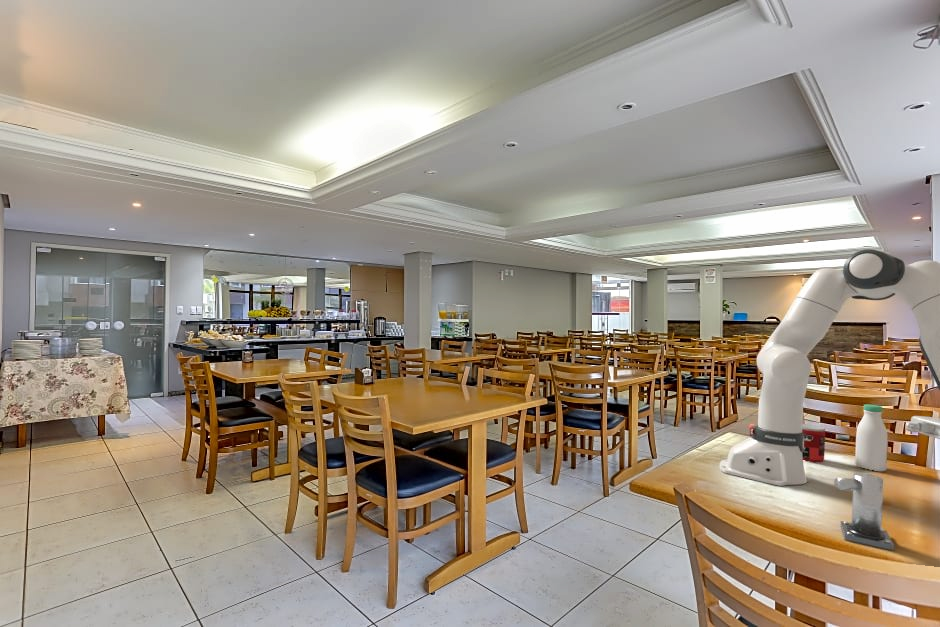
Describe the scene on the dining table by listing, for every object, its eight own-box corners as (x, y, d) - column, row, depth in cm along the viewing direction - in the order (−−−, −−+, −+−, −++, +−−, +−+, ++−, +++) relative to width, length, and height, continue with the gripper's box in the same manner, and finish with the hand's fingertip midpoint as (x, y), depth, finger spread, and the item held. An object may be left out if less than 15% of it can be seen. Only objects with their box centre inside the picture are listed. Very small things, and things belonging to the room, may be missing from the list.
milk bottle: (886, 473, 147) (888, 409, 147) (854, 467, 153) (856, 405, 152) (886, 468, 153) (889, 405, 153) (855, 462, 158) (858, 402, 158)
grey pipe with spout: (868, 526, 107) (870, 473, 107) (887, 537, 102) (889, 481, 102) (828, 525, 107) (830, 471, 107) (845, 536, 102) (847, 480, 102)
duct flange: (844, 540, 103) (845, 533, 103) (840, 526, 110) (840, 519, 110) (893, 550, 99) (894, 543, 99) (886, 535, 106) (886, 529, 106)
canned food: (790, 454, 165) (791, 423, 165) (815, 456, 164) (816, 424, 164) (802, 462, 157) (803, 428, 157) (829, 463, 156) (830, 430, 156)
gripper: (946, 411, 114) (887, 407, 114) (1049, 435, 94) (977, 431, 94) (944, 437, 114) (885, 434, 114) (1046, 467, 94) (974, 463, 94)
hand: (927, 433), depth 104 cm, fingers open, 8 cm apart
